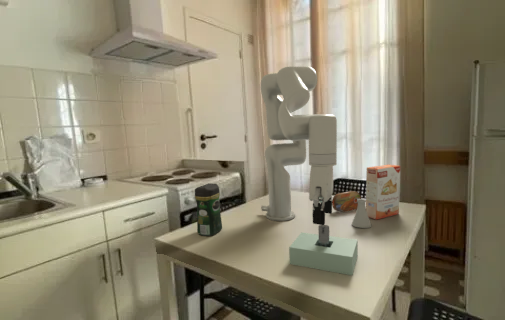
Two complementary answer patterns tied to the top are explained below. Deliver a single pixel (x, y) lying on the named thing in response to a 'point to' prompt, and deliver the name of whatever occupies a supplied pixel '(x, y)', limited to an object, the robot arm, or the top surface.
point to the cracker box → (382, 191)
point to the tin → (345, 201)
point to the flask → (361, 216)
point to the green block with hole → (324, 253)
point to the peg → (323, 235)
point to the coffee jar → (208, 209)
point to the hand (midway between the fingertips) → (322, 218)
